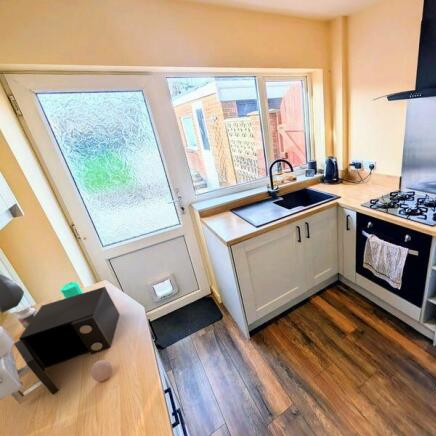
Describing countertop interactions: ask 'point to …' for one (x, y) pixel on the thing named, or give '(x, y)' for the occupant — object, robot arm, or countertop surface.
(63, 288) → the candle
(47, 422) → the countertop surface
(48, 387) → the microwave door
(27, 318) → the pill bottle
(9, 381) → the robot arm
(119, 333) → the countertop surface
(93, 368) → the egg
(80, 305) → the microwave
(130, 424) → the countertop surface
